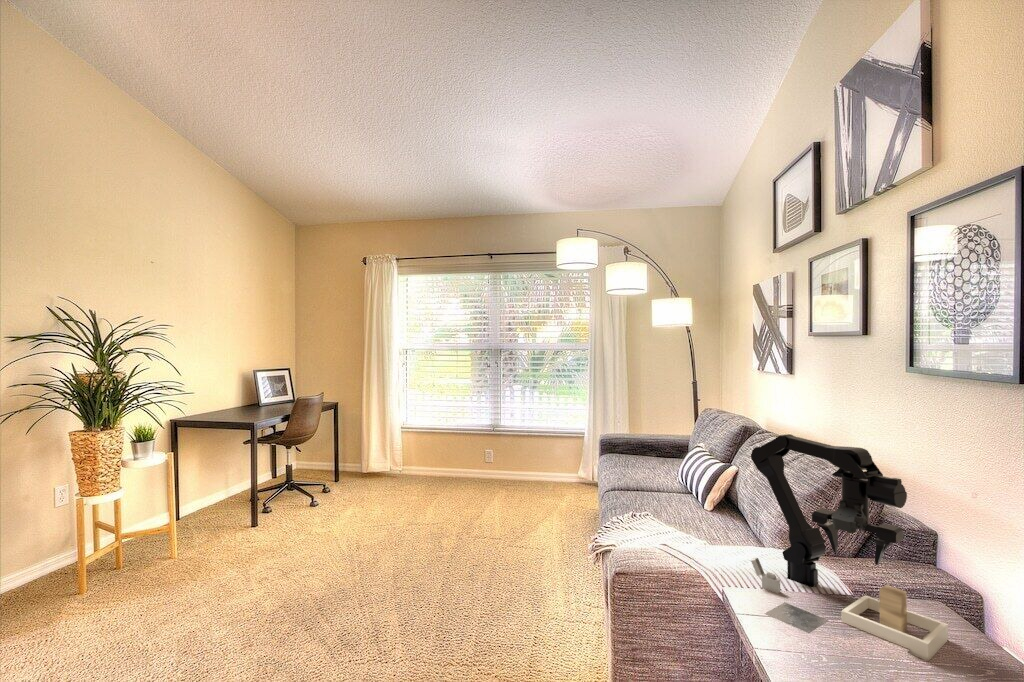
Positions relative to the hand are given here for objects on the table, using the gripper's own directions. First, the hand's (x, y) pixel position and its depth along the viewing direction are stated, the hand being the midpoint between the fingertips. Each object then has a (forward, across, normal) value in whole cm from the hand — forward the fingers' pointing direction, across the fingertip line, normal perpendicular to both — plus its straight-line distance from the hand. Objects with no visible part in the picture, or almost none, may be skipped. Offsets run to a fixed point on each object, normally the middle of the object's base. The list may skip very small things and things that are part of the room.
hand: (855, 558), depth 124 cm
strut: (+11, +10, -7) cm, 17 cm away
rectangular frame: (+12, +10, -7) cm, 17 cm away
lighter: (+12, -17, -12) cm, 24 cm away
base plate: (+12, -5, -21) cm, 25 cm away
